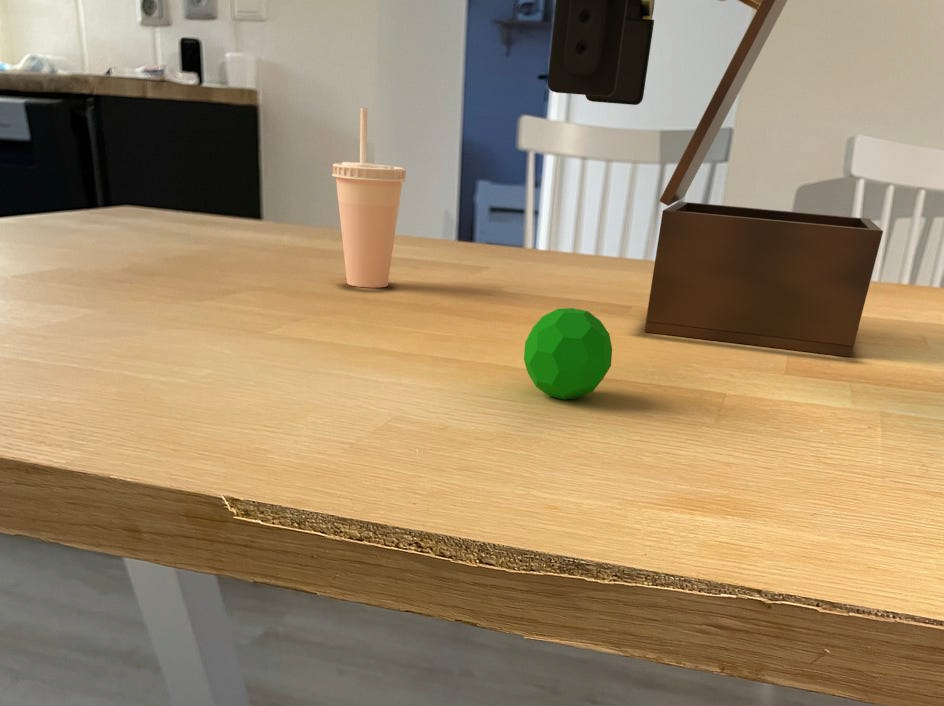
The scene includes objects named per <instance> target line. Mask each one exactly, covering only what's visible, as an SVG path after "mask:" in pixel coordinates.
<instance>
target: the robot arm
mask: <svg viewBox="0 0 944 706" xmlns="http://www.w3.org/2000/svg"><path fill="white" fill-rule="evenodd" d="M655 1H656V0H555V6H554V14H553V15H554V16H553V26H552V36H551V45H550V46H551V47H550V54H549V55H550V56H549V67H548V76H547V87H548V89H549V91H551V92H553V93H557V94H567V95H569V94H570V95H583V96H585V98H586V100H588V101H589V102H593V103H604V104H617V105H631V106H637V105H640V104H641V103H642V101H643V99H644V96H645V95H644V94H645V89H646V82H647V81H646V80H647V74H648V67H649V62H650V61H649V60H650V54H651V46H652V39H653V33H654V26H655V20H654V19H653V16H654V11H655V3H656V2H655Z"/></svg>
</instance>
